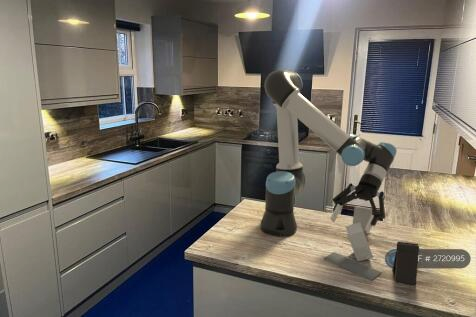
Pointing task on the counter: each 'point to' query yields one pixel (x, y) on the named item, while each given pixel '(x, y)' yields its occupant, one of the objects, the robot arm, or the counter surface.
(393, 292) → the counter surface
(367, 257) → the small box
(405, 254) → the phone stand
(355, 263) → the slate mat
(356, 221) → the white tea box
